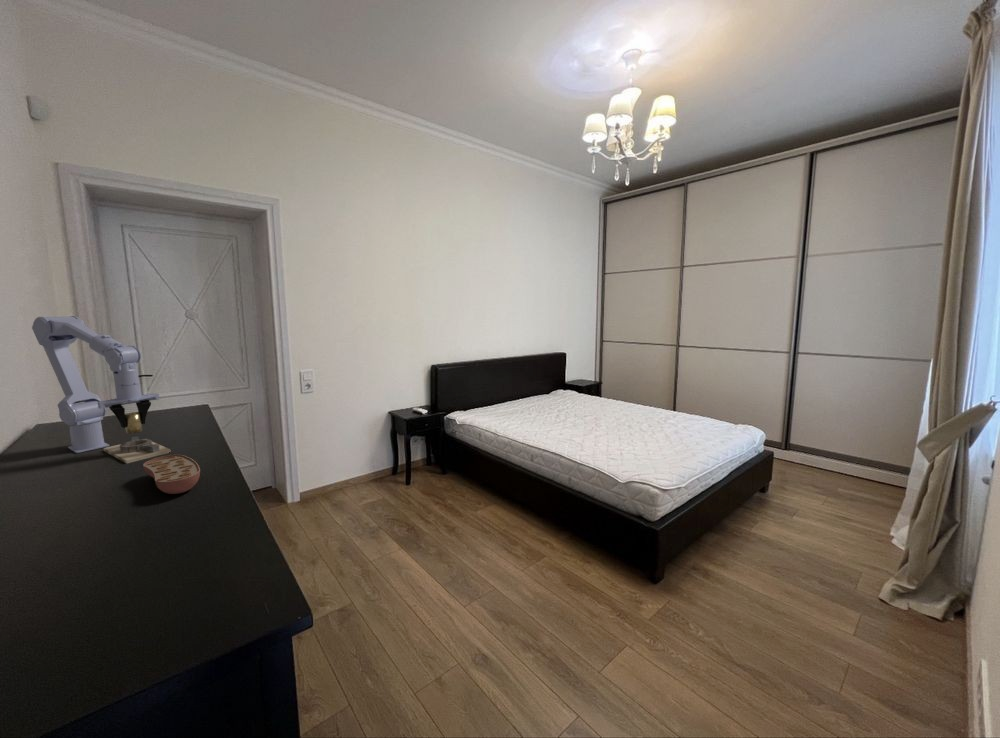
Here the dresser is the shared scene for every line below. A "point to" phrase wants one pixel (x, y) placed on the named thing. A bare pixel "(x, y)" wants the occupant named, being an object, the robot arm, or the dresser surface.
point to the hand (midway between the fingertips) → (133, 425)
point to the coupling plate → (137, 454)
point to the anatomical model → (173, 473)
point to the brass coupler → (133, 422)
